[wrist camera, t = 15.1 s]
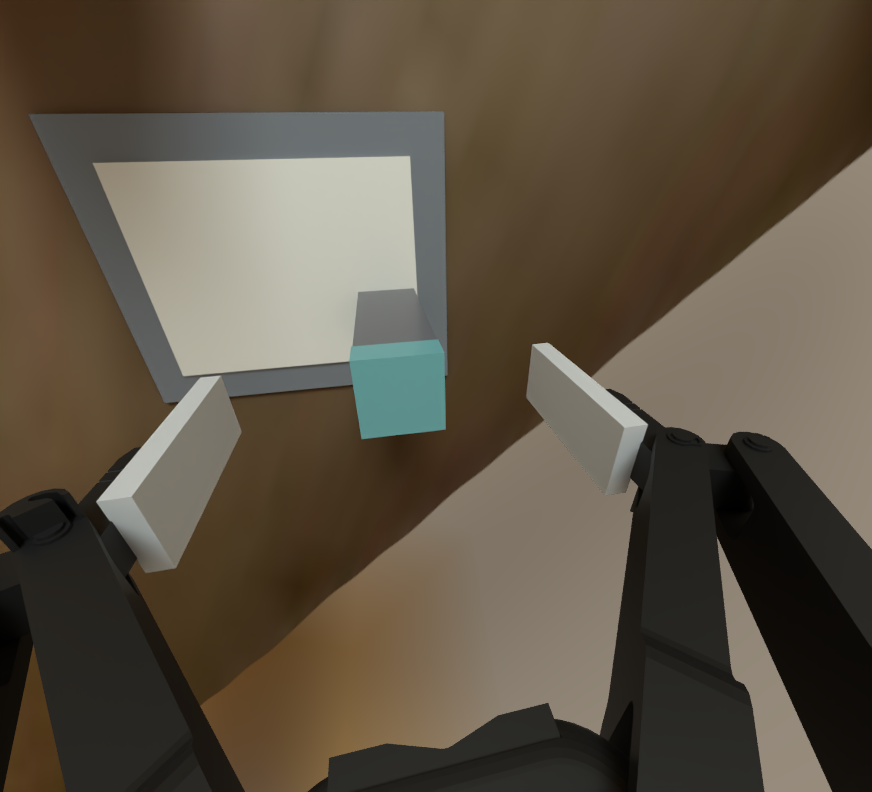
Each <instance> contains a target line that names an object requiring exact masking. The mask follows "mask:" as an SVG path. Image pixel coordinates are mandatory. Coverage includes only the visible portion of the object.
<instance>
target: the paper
mask: <svg viewBox="0 0 872 792" xmlns="http://www.w3.org/2000/svg"><path fill="white" fill-rule="evenodd" d="M28 115H29V117H30V119H31V121H32V123H33V126H34V128H35V130H36V132H37V134H38V136H39V138H40V140H41V142H42V145H43V147H44V149H45V151H46V153H47V155H48V157H49V159H50V161H51V164H52V166H53V168H54V170H55V172H56V174H57V176H58V178H59V181H60V183H61V185H62V187H63V189H64V191H65V193H66V195H67V197H68V200H69V202H70V204H71V206H72V208H73V210H74V212H75V214H76V216H77V219H78V221H79V223H80V225H81V227H82V229H83V231H84V233H85V235H86V238H87V240H88V242H89V244H90V246H91V248H92V250H93V252H94V255H95V257H96V259H97V261H98V263H99V265H100V267H101V269H102V271H103V274H104V276H105V278H106V280H107V282H108V284H109V286H110V288H111V290H112V293H113V295H114V297H115V299H116V301H117V303H118V305H119V307H120V309H121V312H122V314H123V316H124V318H125V320H126V322H127V324H128V326H129V328H130V331H131V333H132V335H133V337H134V339H135V341H136V343H137V345H138V348H139V350H140V352H141V354H142V356H143V358H144V360H145V362H146V364H147V367H148V369H149V371H150V373H151V375H152V377H153V379H154V381H155V383H156V386H157V388H158V390H159V392H160V394H161V396H162V398H163V400H164V402H165V403H170V402H180V401H181V400H182V399H183V398H184V396H185V395H186V394H187V393H188V392H189V390H190V389H191V388H192V387H193V386H194V384H195V383H196V382H197V381H198V380H199V379H200V378H201V377H211V376H221V377H222V380H223V382H224V385H225V388H226V391H227V393H228V396H229V397H232V396H242V395H252V394H262V393H273V392H283V391H293V390H303V389H314V388H324V387H334V386H344V385H353V382H352V375H351V369H350V363H349V359H350V350H351V347H352V346H353V336H354V327H355V317H356V308H357V299H358V292H365V291H380V290H396V289H411V288H414V290H415V292H416V294H417V297H418V299H419V301H420V303H421V306H422V308H423V310H424V312H425V314H426V317H427V319H428V321H429V323H430V326H431V328H432V330H433V332H434V335H435V337H436V339H438V340H439V342H440V344H441V346H442V349H443V351H444V356H445V376H446V375H447V300H446V224H445V148H444V111H443V112H283V113H123V114H28Z"/></svg>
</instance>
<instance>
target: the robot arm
mask: <svg viewBox="0 0 872 792" xmlns="http://www.w3.org/2000/svg"><path fill="white" fill-rule="evenodd" d="M526 398H527V399H528V400H529V401H530V403H531V404H532V405H533V406H534V408H535V409H536V410H537V411H538V413H539V414H540V415H541V416H542V418H543V419H544V420H545V421H546V423H548V425H549V426H550V428H551V429H552V430H553V431H554V432H555V434H556V435H557V436H558V437H559V439H560V440H561V441H562V443H563V444H564V445H565V446H566V448H567V449H568V450H569V451H570V453H571V454H572V455H573V456H574V458H575V459H576V460H577V461H578V462H579V464H580V465H581V466H582V468H583V469H584V470H585V471H586V472H587V474H588V475H589V476H590V477H591V479H592V480H593V481H594V482H595V484H596V485H597V486H598V488H599V489H600V490H601V491H602V492H603V493H604V495H606V496H607V495H613V494H619V493H625V492H626V491H627V488H628V484H629V482H630V478H631V479H632V480H633V481H634V482H635V483H636V484H637V485H638V489H637V492H636V495H635V498H634V501H633V504H632V507H631V510H630V511H631V512H633V518H632V526H631V534H630V542H629V548H628V556H627V564H626V571H625V579H624V586H623V593H622V601H621V609H620V617H619V623H618V632H617V639H616V647H615V654H614V661H613V669H612V676H611V684H610V692H609V698H608V703H607V708H606V711H605V716H604V719H603V723H602V728H601V733H600V735H598V734H596V733H594V732H593V731H591V730H589V729H587V728H584V727H582V726H579V725H577V724H574V723H571V722H567V721H563V720H558V719H554V718H553V715H552V712H551V709H550V707H549V704H548V703H546V704H542V705H538V706H534V707H530V708H526V709H522V710H518V711H514V712H510V713H506V714H502V715H498V716H497V717H495V718H494V719H492V720H491V721H489V722H488V723H486V724H485V725H483V726H481V727H480V728H478V729H477V730H475V731H474V732H472V733H471V734H469V735H468V736H466V737H465V738H463V739H462V740H460V741H459V742H457V743H456V744H454V745H453V746H451V747H449V748H445V749H437V748H427V747H416V746H406V745H396V744H383V745H379V746H375V747H371V748H367V749H363V750H359V751H355V752H351V753H347V754H343V755H339V756H335V757H331V758H329V772H328V777H327V778H326V779H324V780H322V781H321V782H319V783H318V784H317V785H315V786H314V787H313V788H312V789H310V790H309V791H308V792H764V786H763V779H762V772H761V764H760V758H759V751H758V745H757V744H758V743H757V737H756V729H755V722H754V716H753V708H752V704H751V699H750V695H749V692H748V691H747V689H746V687H745V685H744V684H742V683H740V682H738V681H736V680H735V679H734V677H733V675H732V670H731V664H730V655H729V646H728V636H727V627H726V618H725V609H724V599H723V591H722V581H721V572H720V563H719V554H718V545H717V537H718V540H719V542H720V544H721V546H722V548H723V551H724V553H725V555H726V557H727V560H728V562H729V564H730V566H731V568H732V571H733V573H734V575H735V577H736V580H737V582H738V584H739V586H740V588H741V590H742V593H743V595H744V597H745V599H746V601H747V604H748V606H749V608H750V611H751V612H752V615H753V617H754V619H755V621H756V624H757V626H758V628H759V630H760V633H761V635H762V637H763V639H764V641H765V644H766V646H767V648H768V650H769V653H770V655H771V657H772V659H773V661H774V664H775V666H776V668H777V670H778V673H779V675H780V677H781V679H782V681H783V683H784V686H785V688H786V690H787V692H788V694H789V697H790V699H791V701H792V704H793V706H794V708H795V710H796V712H797V715H798V717H799V719H800V721H801V723H802V726H803V728H804V730H805V732H806V734H807V737H808V739H809V741H810V743H811V746H812V748H813V750H814V752H815V754H816V757H817V759H818V761H819V763H820V765H821V768H822V770H823V772H824V774H825V776H826V779H827V781H828V783H829V785H830V788H831V790H832V792H872V549H871V548H870V547H869V546H868V545H867V543H866V542H865V541H864V540H863V539H862V538H861V536H860V535H859V534H858V533H857V532H856V531H855V530H854V528H853V527H852V526H851V525H850V524H849V522H848V521H847V520H846V519H845V518H844V517H843V516H842V514H841V513H840V512H839V511H838V510H837V508H836V507H835V506H834V505H833V504H832V503H831V501H830V500H829V499H828V498H827V497H826V496H825V494H824V493H823V492H822V491H821V490H820V489H819V488H818V486H817V485H816V484H815V483H814V482H813V480H812V479H811V478H810V477H809V476H808V475H807V474H806V472H805V471H804V470H803V469H802V468H801V466H800V465H799V464H798V463H797V462H796V461H795V459H794V458H793V457H792V456H791V455H790V454H789V452H788V451H787V450H786V449H785V448H784V447H783V446H782V445H781V444H779V443H778V442H776V441H774V440H772V439H770V438H769V437H767V436H763V435H761V434H758V433H750V432H737V433H734V434H733V435H732V436H731V438H730V440H729V442H728V444H727V445H720V444H708V443H705V441H704V440H703V439H702V438H700V437H699V436H698V435H696V434H694V433H692V432H690V431H687V430H684V429H680V428H673V427H669V428H665V427H663V426H662V425H661V424H660V423H658V422H657V421H656V420H655V419H653V418H652V417H650V415H648V414H647V413H646V412H644V411H643V410H640V408H639V407H638V406H637V405H635V404H633V403H632V401H630V400H629V399H628V398H627V397H625V396H624V395H623V394H620V393H618V392H616V391H614V390H611V389H604V388H603V387H602V386H600V385H599V384H598V383H597V382H595V381H594V380H593V379H592V378H591V377H589V376H588V375H587V374H586V373H584V372H583V371H582V370H581V369H580V368H578V367H577V366H576V365H575V364H573V363H572V362H571V361H570V360H569V359H567V358H566V357H565V356H564V355H562V354H561V353H560V352H559V351H558V350H556V349H555V348H554V347H553V346H551V345H550V344H549V343H542V344H532V351H531V360H530V369H529V378H528V387H527V395H526ZM240 434H241V429H240V426H239V423H238V421H237V418H236V415H235V412H234V410H233V407H232V404H231V401H230V399H229V396H228V393H227V391H226V388H225V385H224V382H223V380H222V377H221V376H211V377H201V378H200V379H199V380H198V381H197V382H196V383H195V384H194V386H193V387H192V388H191V389H190V390H189V392H188V393H187V394H186V395H185V396H184V398H183V399H182V400H181V401H180V402H179V404H178V405H177V406H176V407H175V408H174V409H173V411H172V412H171V413H170V414H169V415H168V417H167V418H166V419H165V420H164V421H163V423H162V424H161V425H160V426H159V427H158V429H157V430H156V431H155V432H154V433H153V434H152V436H151V437H150V438H149V439H148V440H147V442H146V443H145V444H144V445H143V446H142V447H139V448H134V449H132V450H131V451H130V452H128V453H127V454H125V455H124V456H122V457H121V458H119V459H118V460H117V461H116V462H115V464H114V465H113V466H112V467H111V468H110V469H109V470H108V473H106V474H105V475H104V476H103V477H102V478H101V479H100V480H99V481H100V482H99V483H97V484H96V485H95V486H94V487H93V488H92V489H91V491H90V492H89V493H88V494H87V495H86V496H85V497H84V498H83V500H82V501H81V502H80V503H79V504H77V502H76V501H75V500H74V498H73V497H72V496H71V494H70V493H69V492H68V491H66V490H65V489H50V490H45V491H41V492H38V493H35V494H32V495H29V496H27V497H25V498H23V499H21V500H19V501H17V502H15V503H13V504H11V505H10V506H8V507H7V508H6V509H4V510H3V511H1V512H0V539H1V540H2V541H3V542H4V544H5V545H6V546H7V547H8V548H9V549H10V550H11V551H8V552H5V553H2V554H0V792H3V789H4V784H5V779H6V774H7V770H8V765H9V760H10V755H11V750H12V745H13V740H14V735H15V731H16V726H17V721H18V716H19V711H20V706H21V701H22V696H23V692H24V687H25V682H26V677H27V672H28V667H29V662H30V658H31V653H32V648H33V644H34V648H35V653H36V657H37V662H38V666H39V671H40V675H41V680H42V684H43V689H44V693H45V698H46V702H47V707H48V711H49V716H50V720H51V725H52V729H53V734H54V738H55V743H56V747H57V752H58V756H59V761H60V765H61V770H62V774H63V779H64V783H65V788H66V792H245V791H244V789H243V787H242V785H241V783H240V781H239V780H238V778H237V776H236V774H235V772H234V770H233V768H232V766H231V764H230V762H229V760H228V759H227V757H226V755H225V753H224V751H223V749H222V747H221V745H220V743H219V741H218V739H217V738H216V736H215V734H214V732H213V730H212V728H211V726H210V724H209V722H208V720H207V719H206V717H205V715H204V713H203V711H202V709H201V707H200V705H199V703H198V701H197V700H196V698H195V696H194V694H193V692H192V690H191V688H190V686H189V684H188V682H187V680H186V679H185V677H184V675H183V673H182V671H181V669H180V667H179V665H178V663H177V661H176V660H175V658H174V656H173V654H172V652H171V650H170V648H169V646H168V644H167V642H166V641H165V639H164V637H163V635H162V633H161V631H160V629H159V627H158V625H157V623H156V621H155V620H154V618H153V616H152V614H151V612H150V610H149V608H148V606H147V604H146V602H145V601H144V599H143V597H142V595H141V593H140V591H139V589H138V587H137V585H136V583H135V582H134V580H133V578H132V577H131V576H130V574H129V571H130V569H131V568H132V566H133V564H134V563H135V561H136V560H137V561H138V563H139V564H140V565H141V567H142V568H143V570H144V571H145V573H149V572H155V571H161V570H167V569H173V568H176V567H177V565H178V563H179V560H180V558H181V556H182V554H183V552H184V550H185V548H186V546H187V544H188V542H189V540H190V538H191V536H192V534H193V531H194V529H195V527H196V525H197V523H198V521H199V519H200V517H201V515H202V513H203V511H204V509H205V507H206V505H207V502H208V500H209V498H210V496H211V494H212V492H213V490H214V488H215V486H216V484H217V482H218V480H219V478H220V476H221V473H222V471H223V469H224V467H225V465H226V463H227V461H228V459H229V457H230V455H231V453H232V451H233V449H234V447H235V445H236V442H237V440H238V438H239V436H240Z"/></svg>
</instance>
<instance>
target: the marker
mask: <svg viewBox="0 0 872 792" xmlns="http://www.w3.org/2000/svg"><path fill="white" fill-rule="evenodd" d="M349 363H350V369H351V375H352V382H353V388H354V394H355V400H356V407H357V413H358V419H359V425H360V431H361V438H362V439H367V438H376V437H384V436H393V435H402V434H410V433H419V432H428V431H437V430H445V429H446V422H445V356H444V351H443V349H442V346H441V344H440V342H439V340H438V339H436V337H435V335H434V332H433V330H432V328H431V326H430V323H429V321H428V319H427V317H426V314H425V312H424V310H423V308H422V306H421V303H420V301H419V299H418V297H417V294H416V292H415V290H414V288H411V289H396V290H380V291H365V292H358V299H357V308H356V317H355V327H354V336H353V346H352V347H351V350H350V359H349Z"/></svg>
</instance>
